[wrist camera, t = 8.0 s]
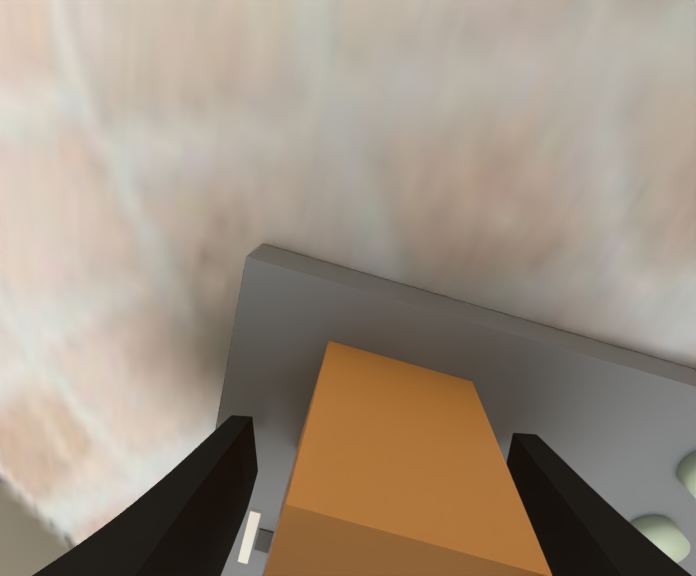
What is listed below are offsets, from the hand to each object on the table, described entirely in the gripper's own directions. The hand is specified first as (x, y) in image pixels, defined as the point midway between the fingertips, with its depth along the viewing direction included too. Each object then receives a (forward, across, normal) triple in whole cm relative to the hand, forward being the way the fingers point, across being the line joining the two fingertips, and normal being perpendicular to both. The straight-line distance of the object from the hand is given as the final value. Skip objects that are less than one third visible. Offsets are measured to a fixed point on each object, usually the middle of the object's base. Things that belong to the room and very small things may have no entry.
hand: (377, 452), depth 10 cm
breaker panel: (+3, -3, +4) cm, 6 cm away
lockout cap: (+1, 0, 0) cm, 1 cm away
